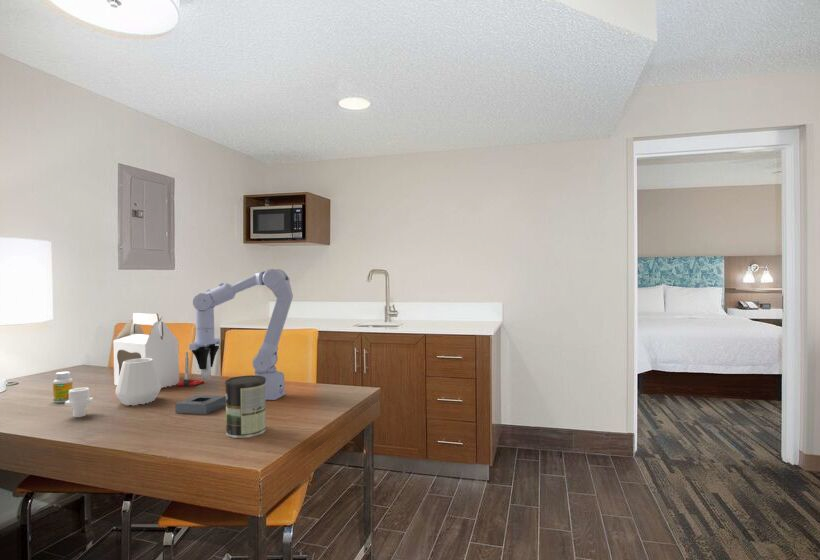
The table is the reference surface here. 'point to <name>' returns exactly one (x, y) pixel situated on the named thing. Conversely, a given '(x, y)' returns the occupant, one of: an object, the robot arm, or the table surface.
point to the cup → (138, 382)
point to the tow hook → (187, 381)
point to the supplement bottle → (62, 387)
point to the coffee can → (245, 406)
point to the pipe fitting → (79, 401)
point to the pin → (207, 368)
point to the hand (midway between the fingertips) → (206, 368)
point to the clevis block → (200, 404)
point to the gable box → (148, 347)
